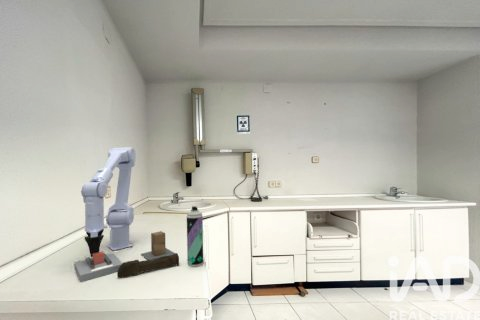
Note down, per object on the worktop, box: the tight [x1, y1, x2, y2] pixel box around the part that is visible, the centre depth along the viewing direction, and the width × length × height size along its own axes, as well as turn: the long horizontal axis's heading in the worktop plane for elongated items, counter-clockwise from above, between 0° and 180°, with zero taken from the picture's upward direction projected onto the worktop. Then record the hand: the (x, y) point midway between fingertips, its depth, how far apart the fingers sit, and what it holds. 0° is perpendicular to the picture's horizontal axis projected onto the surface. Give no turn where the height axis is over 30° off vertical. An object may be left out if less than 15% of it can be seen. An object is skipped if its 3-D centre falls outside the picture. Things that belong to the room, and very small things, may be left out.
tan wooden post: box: [150, 230, 167, 256], centre depth 91 cm, size 4×4×8 cm
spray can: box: [186, 205, 204, 268], centre depth 82 cm, size 6×6×20 cm
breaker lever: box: [92, 250, 105, 265], centre depth 80 cm, size 2×3×3 cm
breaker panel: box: [73, 252, 124, 283], centre depth 79 cm, size 14×12×3 cm
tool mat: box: [140, 247, 176, 260], centre depth 91 cm, size 10×10×1 cm
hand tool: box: [116, 252, 180, 279], centre depth 78 cm, size 19×4×5 cm, turn 118°
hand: (94, 252), depth 84 cm, fingers open, 7 cm apart
